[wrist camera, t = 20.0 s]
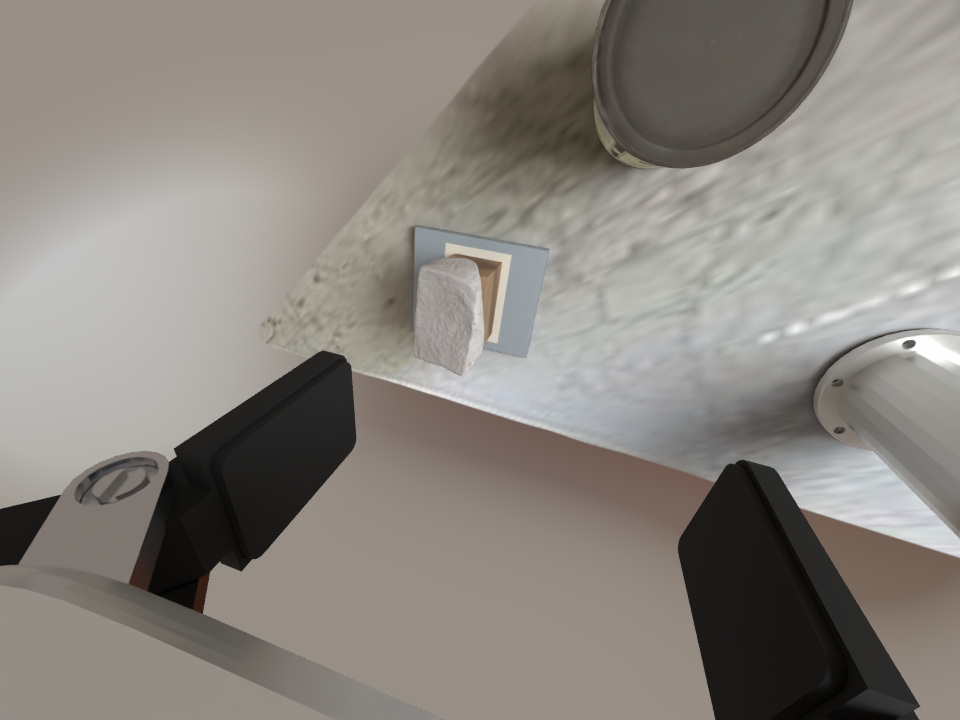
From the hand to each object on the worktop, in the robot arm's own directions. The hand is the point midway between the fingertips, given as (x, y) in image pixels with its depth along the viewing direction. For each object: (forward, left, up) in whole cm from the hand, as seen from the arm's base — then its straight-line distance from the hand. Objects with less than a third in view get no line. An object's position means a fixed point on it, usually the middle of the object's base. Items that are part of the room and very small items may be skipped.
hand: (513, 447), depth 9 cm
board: (+9, +7, -30) cm, 32 cm away
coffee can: (-4, -12, -31) cm, 33 cm away
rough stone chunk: (+9, +7, -23) cm, 26 cm away
